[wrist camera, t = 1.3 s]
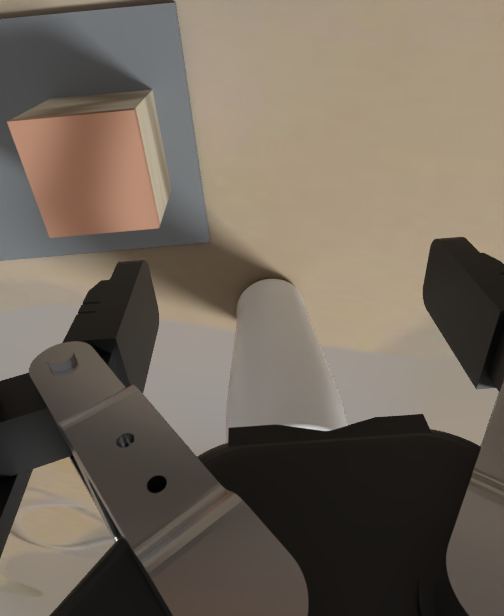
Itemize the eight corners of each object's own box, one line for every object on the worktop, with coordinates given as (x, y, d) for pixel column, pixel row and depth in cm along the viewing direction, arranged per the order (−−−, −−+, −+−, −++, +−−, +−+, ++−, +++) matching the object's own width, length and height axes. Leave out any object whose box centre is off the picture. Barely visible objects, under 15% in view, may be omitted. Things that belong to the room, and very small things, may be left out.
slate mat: (175, 2, 24) (174, 2, 23) (209, 239, 32) (209, 242, 31) (-266, 44, 24) (-273, 44, 24) (-122, 269, 32) (-126, 271, 32)
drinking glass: (296, 253, 33) (337, 407, 20) (323, 321, 36) (371, 487, 24) (213, 285, 34) (202, 447, 21) (247, 348, 37) (254, 517, 25)
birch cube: (152, 89, 26) (133, 110, 21) (171, 189, 29) (159, 228, 24) (49, 98, 26) (6, 121, 21) (80, 198, 29) (49, 237, 24)
